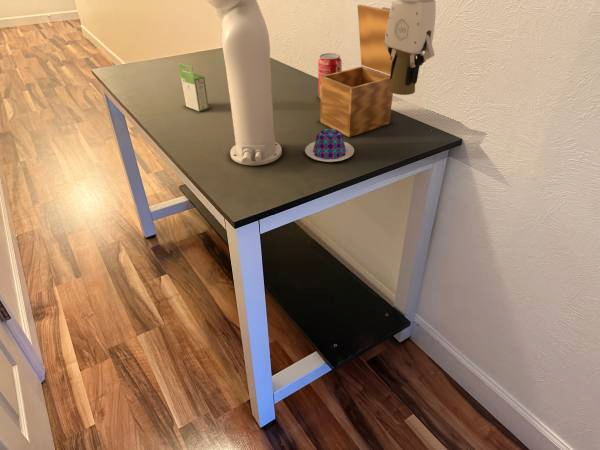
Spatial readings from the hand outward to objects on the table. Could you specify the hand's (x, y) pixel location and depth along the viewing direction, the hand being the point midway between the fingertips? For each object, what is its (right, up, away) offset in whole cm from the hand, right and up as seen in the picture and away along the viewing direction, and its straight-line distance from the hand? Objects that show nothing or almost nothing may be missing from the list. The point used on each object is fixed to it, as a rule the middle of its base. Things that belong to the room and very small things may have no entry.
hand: (403, 80), depth 96 cm
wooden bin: (-8, -5, +20) cm, 23 cm away
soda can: (-14, +7, +37) cm, 40 cm away
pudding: (-17, -16, +6) cm, 24 cm away
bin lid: (-4, +14, +11) cm, 18 cm away
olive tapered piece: (0, -2, +1) cm, 2 cm away
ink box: (-55, +3, +33) cm, 64 cm away
